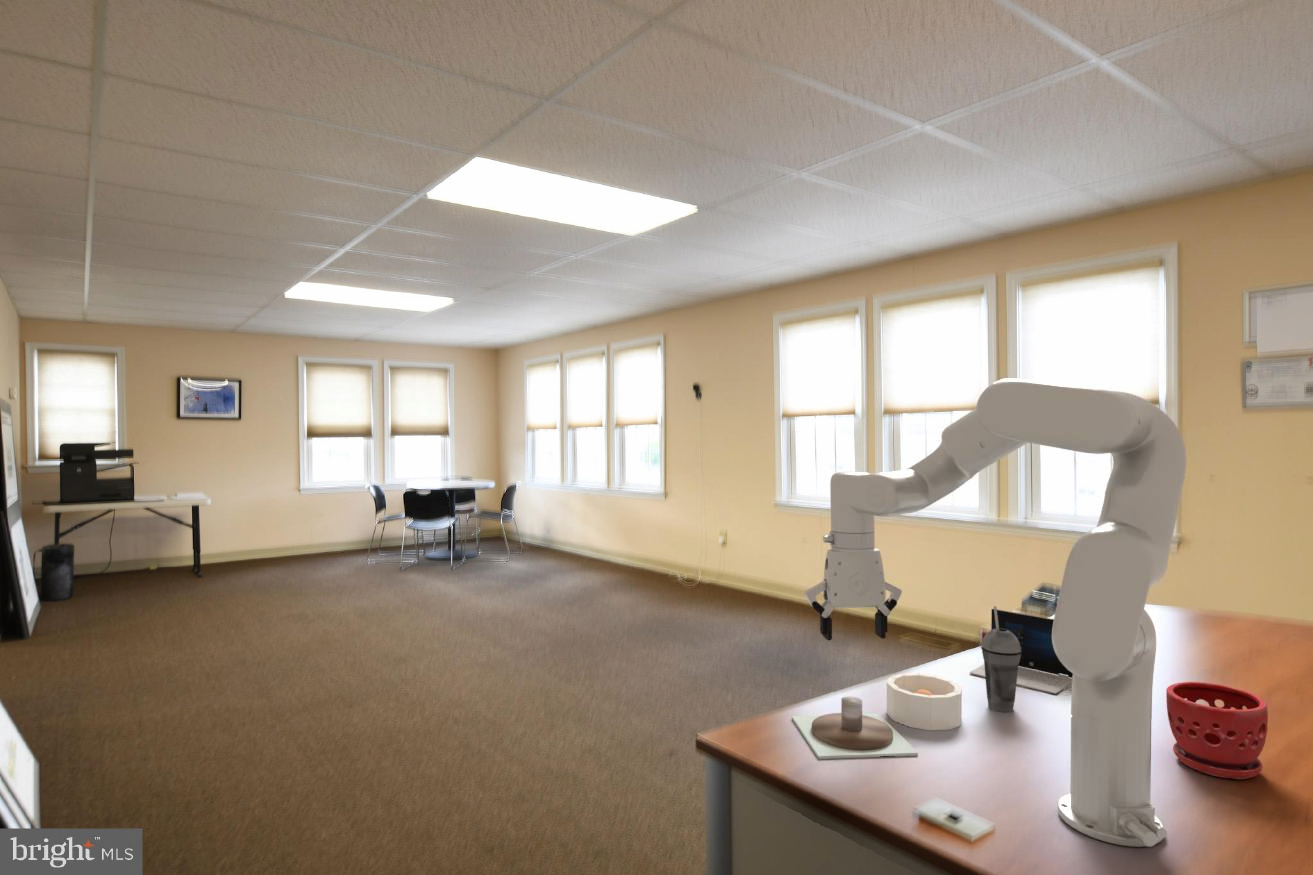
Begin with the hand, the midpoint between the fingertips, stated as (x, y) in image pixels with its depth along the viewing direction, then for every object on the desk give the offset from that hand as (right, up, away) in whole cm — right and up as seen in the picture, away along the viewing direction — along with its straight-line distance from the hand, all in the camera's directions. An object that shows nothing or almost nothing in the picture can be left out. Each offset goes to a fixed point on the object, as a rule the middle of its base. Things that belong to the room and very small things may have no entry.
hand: (853, 637), depth 131 cm
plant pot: (+56, -18, -11) cm, 60 cm away
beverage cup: (+33, -18, +14) cm, 40 cm away
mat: (0, -18, +1) cm, 18 cm away
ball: (+16, -15, +10) cm, 24 cm away
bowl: (+16, -18, +10) cm, 26 cm away
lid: (0, -17, +1) cm, 17 cm away
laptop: (+46, -18, +32) cm, 59 cm away
